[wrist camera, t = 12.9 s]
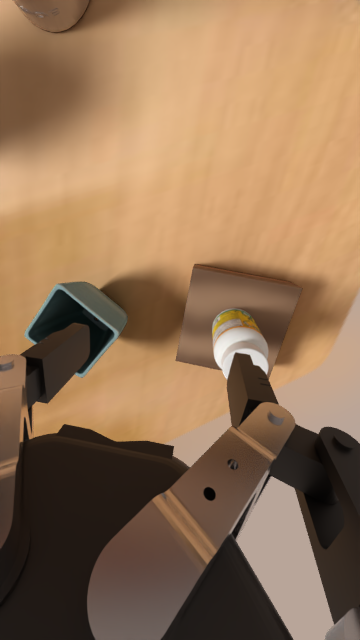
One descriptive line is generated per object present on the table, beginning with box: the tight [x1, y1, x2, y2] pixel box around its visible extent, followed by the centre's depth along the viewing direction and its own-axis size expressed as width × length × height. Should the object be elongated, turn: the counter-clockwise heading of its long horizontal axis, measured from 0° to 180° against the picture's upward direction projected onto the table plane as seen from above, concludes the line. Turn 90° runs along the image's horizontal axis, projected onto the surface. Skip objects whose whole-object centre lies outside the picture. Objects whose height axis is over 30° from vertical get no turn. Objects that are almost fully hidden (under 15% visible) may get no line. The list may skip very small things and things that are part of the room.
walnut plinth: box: [176, 264, 303, 380], centre depth 30 cm, size 13×13×4 cm
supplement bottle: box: [212, 308, 269, 379], centre depth 24 cm, size 5×5×10 cm
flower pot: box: [24, 282, 128, 378], centre depth 30 cm, size 9×9×9 cm
